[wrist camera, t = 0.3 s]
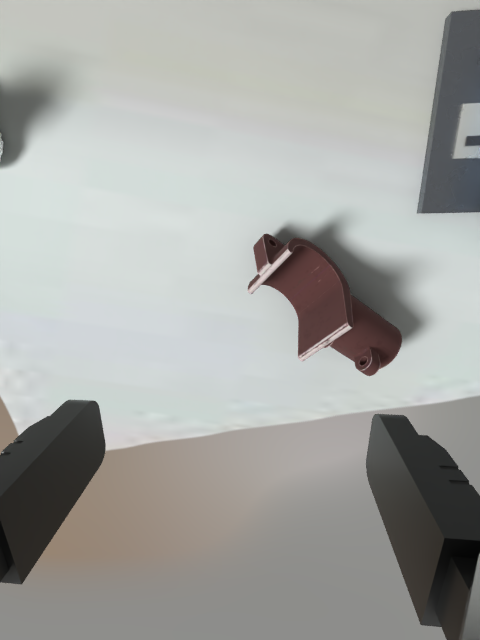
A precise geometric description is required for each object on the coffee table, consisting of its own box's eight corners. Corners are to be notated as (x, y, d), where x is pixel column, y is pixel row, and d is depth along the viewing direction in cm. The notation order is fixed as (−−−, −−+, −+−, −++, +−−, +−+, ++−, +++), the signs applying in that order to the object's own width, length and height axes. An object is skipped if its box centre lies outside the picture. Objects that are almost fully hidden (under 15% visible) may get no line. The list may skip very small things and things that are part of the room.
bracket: (278, 213, 31) (270, 272, 24) (393, 302, 37) (416, 371, 30) (242, 255, 35) (227, 316, 28) (352, 330, 41) (362, 397, 33)
